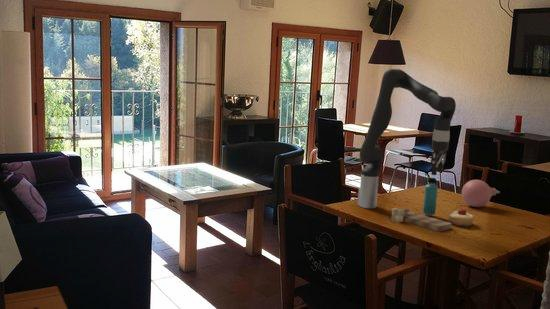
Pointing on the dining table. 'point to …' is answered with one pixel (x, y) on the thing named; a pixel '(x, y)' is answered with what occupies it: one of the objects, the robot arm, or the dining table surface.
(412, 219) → the board
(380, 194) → the dining table surface
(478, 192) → the balloon
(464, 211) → the pastry
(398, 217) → the beige cube mallet
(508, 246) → the dining table surface
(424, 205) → the beverage bottle
